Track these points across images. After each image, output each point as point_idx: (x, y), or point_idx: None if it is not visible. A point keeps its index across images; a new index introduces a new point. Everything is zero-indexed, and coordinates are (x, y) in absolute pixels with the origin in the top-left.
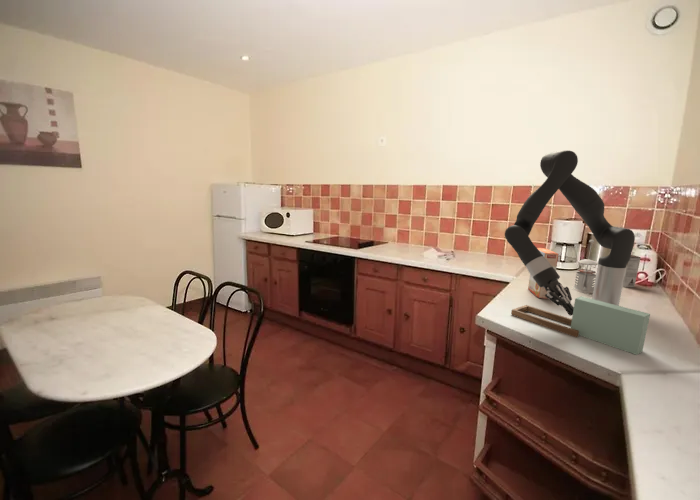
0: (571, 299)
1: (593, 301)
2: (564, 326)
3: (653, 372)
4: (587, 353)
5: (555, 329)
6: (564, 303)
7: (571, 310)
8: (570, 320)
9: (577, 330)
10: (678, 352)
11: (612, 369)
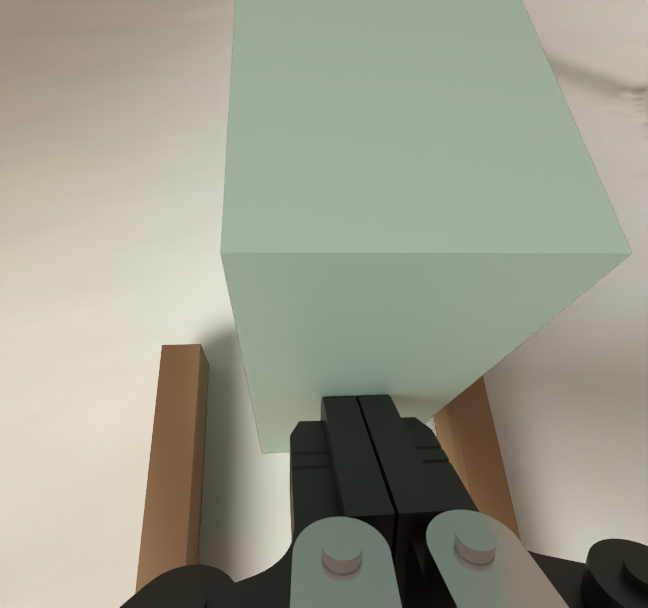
0: (181, 583)
1: (403, 6)
2: (479, 469)
3: None
4: None
5: None
6: (554, 559)
7: (415, 439)
8: (186, 552)
9: None
10: (105, 12)
11: (638, 113)
